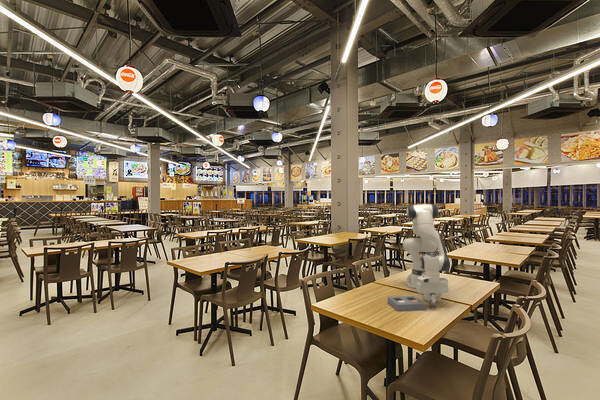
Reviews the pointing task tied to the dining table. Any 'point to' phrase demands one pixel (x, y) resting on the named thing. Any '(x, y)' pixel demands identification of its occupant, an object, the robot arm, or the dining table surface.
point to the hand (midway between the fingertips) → (432, 299)
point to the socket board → (406, 303)
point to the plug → (432, 300)
